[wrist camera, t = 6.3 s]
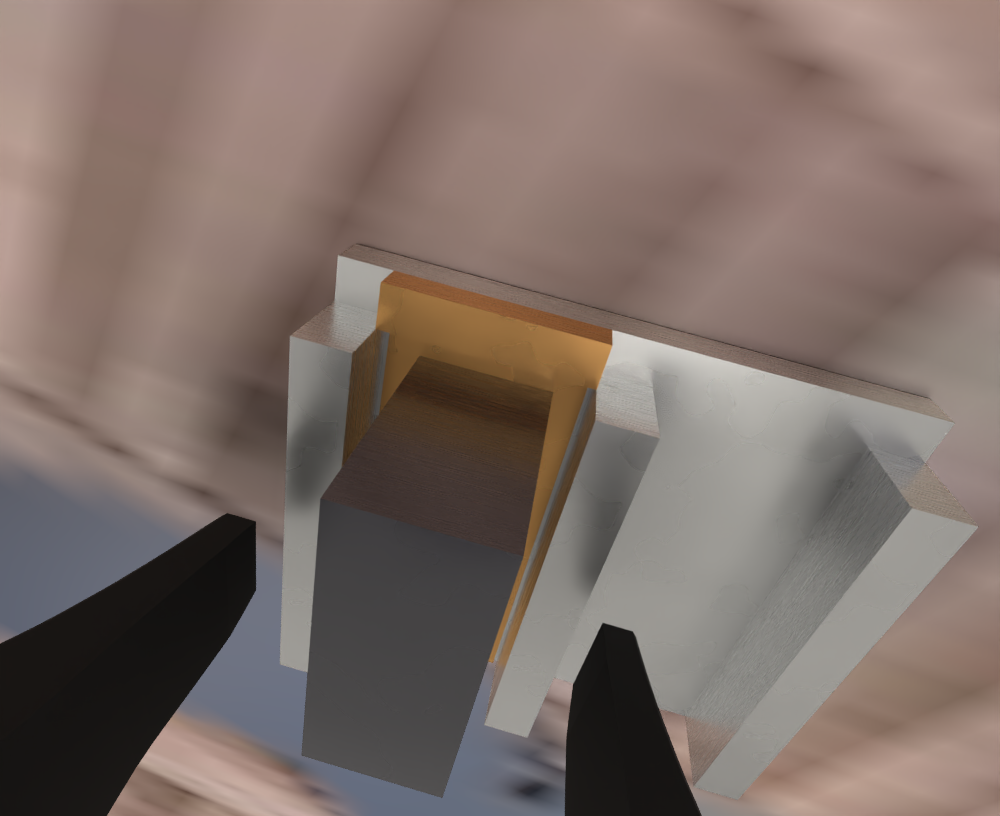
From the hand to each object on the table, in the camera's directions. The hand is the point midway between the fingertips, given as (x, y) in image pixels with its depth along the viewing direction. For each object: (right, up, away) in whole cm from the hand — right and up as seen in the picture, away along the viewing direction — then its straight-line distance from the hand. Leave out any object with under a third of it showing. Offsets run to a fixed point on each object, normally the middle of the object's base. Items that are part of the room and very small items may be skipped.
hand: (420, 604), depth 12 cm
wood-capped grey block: (+1, +2, +3) cm, 3 cm away
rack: (+3, +1, +4) cm, 5 cm away
